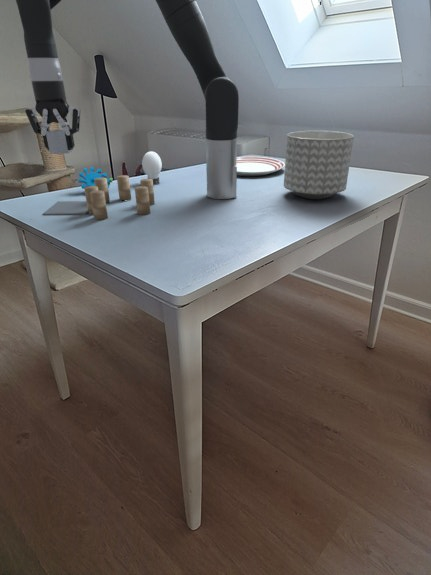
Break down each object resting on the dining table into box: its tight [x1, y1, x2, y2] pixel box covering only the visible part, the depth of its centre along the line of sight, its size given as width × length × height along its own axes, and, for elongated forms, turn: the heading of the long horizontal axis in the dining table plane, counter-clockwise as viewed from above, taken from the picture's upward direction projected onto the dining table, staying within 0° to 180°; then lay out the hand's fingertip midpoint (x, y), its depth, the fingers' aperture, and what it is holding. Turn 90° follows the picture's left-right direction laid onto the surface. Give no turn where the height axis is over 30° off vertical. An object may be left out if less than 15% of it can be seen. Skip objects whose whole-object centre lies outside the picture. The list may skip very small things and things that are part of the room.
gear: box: [78, 166, 114, 189], centre depth 131 cm, size 11×6×10 cm
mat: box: [42, 200, 89, 216], centre depth 114 cm, size 12×12×1 cm
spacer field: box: [83, 174, 156, 221], centre depth 113 cm, size 18×22×7 cm
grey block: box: [46, 129, 73, 155], centre depth 106 cm, size 5×6×6 cm
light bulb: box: [141, 150, 163, 186], centre depth 137 cm, size 7×7×11 cm
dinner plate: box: [236, 156, 285, 177], centre depth 157 cm, size 28×27×3 cm
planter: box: [283, 130, 355, 200], centre depth 119 cm, size 19×19×18 cm
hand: (60, 149), depth 107 cm, fingers closed on grey block, 5 cm apart
